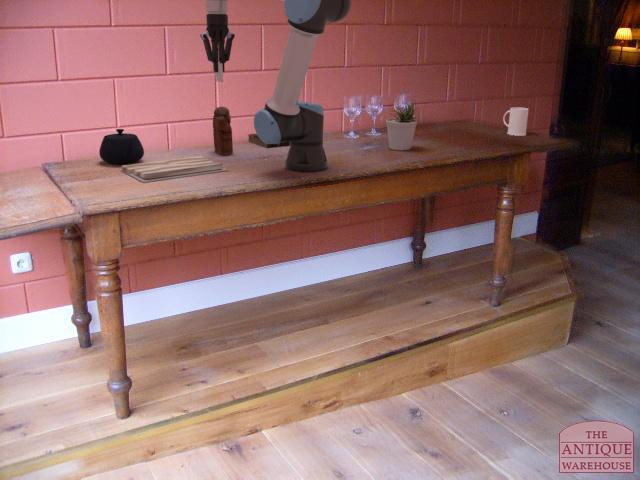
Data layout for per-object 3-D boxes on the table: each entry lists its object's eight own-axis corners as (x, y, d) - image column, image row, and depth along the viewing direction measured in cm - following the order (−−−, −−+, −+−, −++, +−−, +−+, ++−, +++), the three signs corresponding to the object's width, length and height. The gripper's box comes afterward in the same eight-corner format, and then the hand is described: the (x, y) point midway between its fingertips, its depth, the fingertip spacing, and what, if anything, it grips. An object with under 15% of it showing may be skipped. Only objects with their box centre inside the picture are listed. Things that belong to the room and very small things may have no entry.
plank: (222, 168, 230) (222, 164, 230) (145, 179, 214) (145, 174, 214) (207, 163, 238) (207, 159, 238) (133, 173, 223) (132, 168, 222)
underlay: (228, 170, 230) (228, 169, 230) (143, 183, 213) (143, 181, 212) (201, 160, 245) (201, 159, 245) (120, 171, 228) (120, 169, 228)
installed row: (209, 163, 240) (209, 159, 239) (129, 173, 223) (129, 169, 222) (200, 159, 245) (200, 155, 244) (122, 169, 228) (121, 165, 227)
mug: (497, 133, 311) (500, 107, 307) (508, 131, 316) (510, 105, 312) (519, 136, 302) (522, 110, 298) (529, 134, 308) (532, 108, 304)
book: (296, 137, 296) (247, 142, 283) (296, 129, 295) (247, 134, 282) (318, 143, 282) (267, 149, 269) (318, 135, 281) (267, 140, 268)
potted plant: (402, 153, 263) (405, 102, 256) (378, 148, 273) (380, 99, 266) (423, 149, 270) (427, 100, 264) (399, 144, 280) (402, 96, 274)
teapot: (92, 158, 246) (88, 126, 242) (132, 154, 254) (130, 122, 250) (112, 172, 226) (109, 136, 222) (156, 167, 234) (154, 132, 230)
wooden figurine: (236, 155, 255) (234, 108, 249) (220, 156, 253) (218, 109, 247) (227, 149, 265) (225, 104, 259) (211, 150, 263) (209, 105, 257)
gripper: (228, 13, 239) (230, 79, 247) (195, 13, 232) (198, 81, 240) (238, 13, 234) (240, 81, 242) (205, 13, 226) (208, 83, 234)
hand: (219, 81), depth 241 cm, fingers closed
